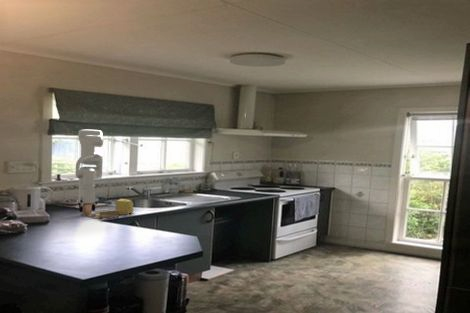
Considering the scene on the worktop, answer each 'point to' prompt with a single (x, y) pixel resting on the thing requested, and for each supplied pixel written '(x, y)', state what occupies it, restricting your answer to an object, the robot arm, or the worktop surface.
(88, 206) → the jar
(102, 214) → the lane
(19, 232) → the worktop surface
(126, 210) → the yellow rounded block
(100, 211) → the pusher
